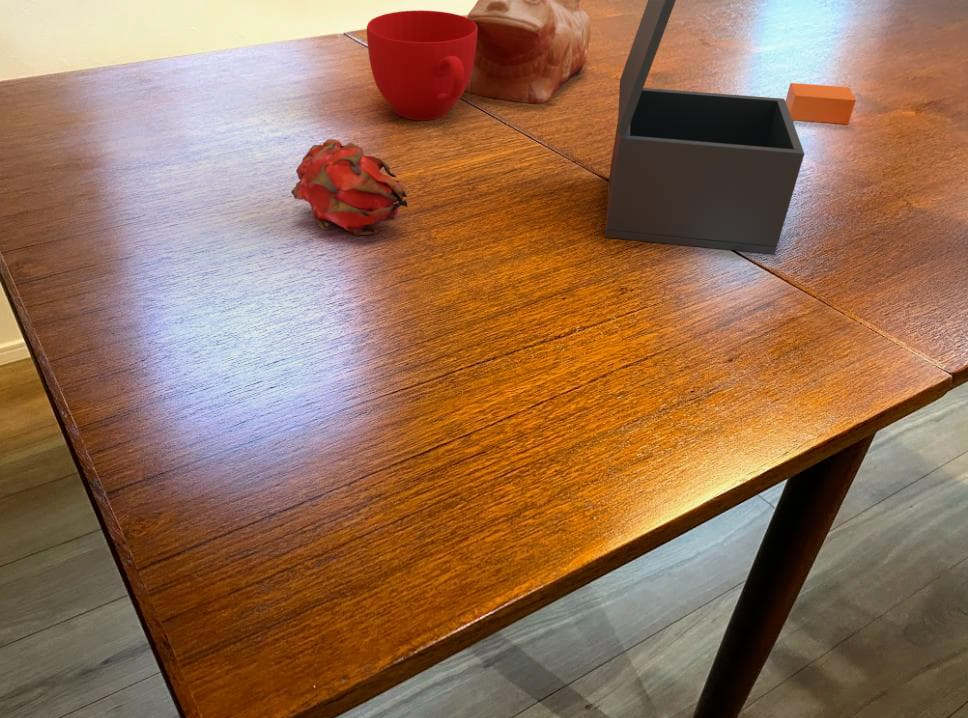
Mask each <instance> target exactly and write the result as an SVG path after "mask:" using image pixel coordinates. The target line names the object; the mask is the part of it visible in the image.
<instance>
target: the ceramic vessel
mask: <svg viewBox="0 0 968 718" xmlns="http://www.w3.org/2000/svg"><path fill="white" fill-rule="evenodd" d="M580 2H581V0H477V2H476V3H475V4H474V6H473V8H471V10H470V11H469V12H468V14H467V18H468V19H470V20H472V21H473V22H475V23H476V25H477V28H478V31H477V43H476V51H475V58H474V64H473V69H472V73H471V76H470V80H469V82H468V85H467V87H466V89H465V91H464V92H467V93H471V94H476V95H479V96H484V97H486V98H491V99H492V98H493V99H497V100H504V101H511V102H518V103H519V102H520V103H526V104H535V105H536V104H544V103H548V102H550V100H551V98H552V96H553V95H554V93H555V92H557V91H559V90H560V88H561V87H562V86H563V85H564V84H565V83H567V82H568V81H569V80H571V79H572V78H573V77H575V76H578V75H579V74H580V73H581V72H582V69H583V67H584V65H585V63H586V61H587V60H588V50H589V45H590V40H591V31H592V28H591V21H590V18H589V16H588V14H587V12H585V11H584V10H583V9H581V8H580Z"/></svg>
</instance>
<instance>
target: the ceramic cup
mask: <svg viewBox="0 0 968 718" xmlns="http://www.w3.org/2000/svg"><path fill="white" fill-rule="evenodd" d="M477 31H478V28H477V25H476V23H475V22H473V21H472V20H470V19H468V17H466V16H463V15H460V14H456V13H451V12H445V11H439V10H424V9H423V10H400V11H395V12H389V13H385V14H381V15H378V16H375V17H374V18H372V19H371V20H369V21H368V23H367V24H366V41H367V50H368V51H367V52H368V58H369V64H370V69H371V73H372V76H373V80H374V83H375V85H376V88H377V89H378V92H379V93H380V94H381V96H382V97H383V99H384V100H385V101H386V103H387V104H388V105H389V106H390V107H391V108H392V109H393V110H394V113H395V114H396V115H398V116H400V117H402V118H405V119H409V120H415V121H430V120H431V121H432V120H436V119H439V118H442V117H444V116H446V115H447V114H448V113H449V111H450V110H451V109H452V108H453V107H454V106H455V105H456V103H458V101H459V100H460V99H461V97H462V95H463V94H464V93H465V92H466V91H465V89H466V87H467V85H468V82H469V80H470V76H471V73H472V69H473V64H474V58H475V51H476V43H477Z"/></svg>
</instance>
